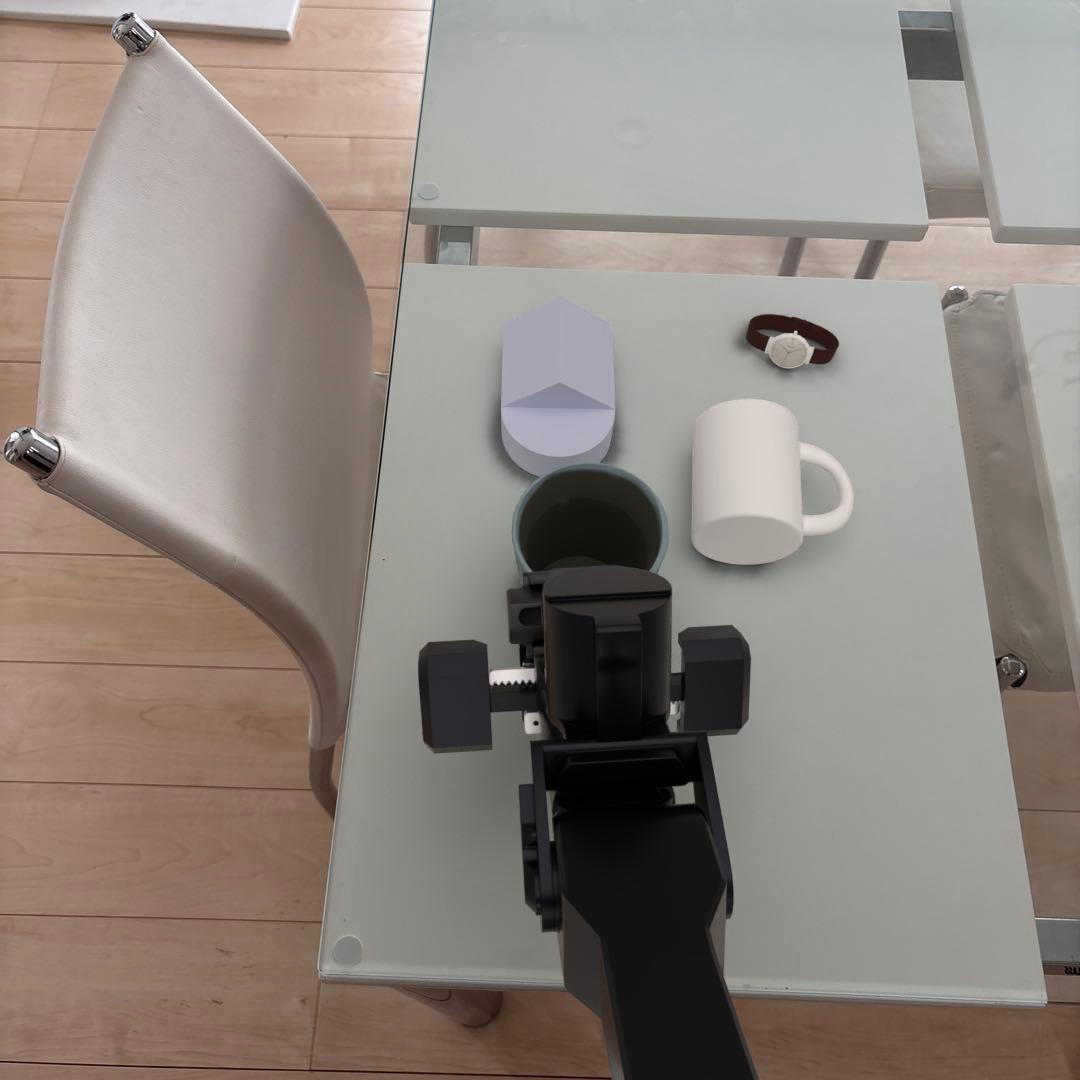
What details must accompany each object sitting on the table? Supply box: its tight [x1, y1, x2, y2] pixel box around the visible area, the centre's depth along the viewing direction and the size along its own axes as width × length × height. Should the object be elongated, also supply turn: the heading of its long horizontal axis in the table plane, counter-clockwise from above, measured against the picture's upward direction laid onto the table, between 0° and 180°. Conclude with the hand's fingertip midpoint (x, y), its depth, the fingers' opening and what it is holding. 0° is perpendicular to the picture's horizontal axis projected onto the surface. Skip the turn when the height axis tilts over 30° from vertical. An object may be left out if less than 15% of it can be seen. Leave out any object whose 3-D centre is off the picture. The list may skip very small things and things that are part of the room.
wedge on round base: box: [500, 295, 616, 478], centre depth 76 cm, size 9×7×13 cm
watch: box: [745, 313, 840, 369], centre depth 81 cm, size 8×5×4 cm, turn 73°
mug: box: [690, 398, 855, 566], centre depth 72 cm, size 12×10×8 cm
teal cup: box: [511, 462, 670, 587], centre depth 66 cm, size 10×10×12 cm
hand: (570, 631), depth 63 cm, fingers closed
